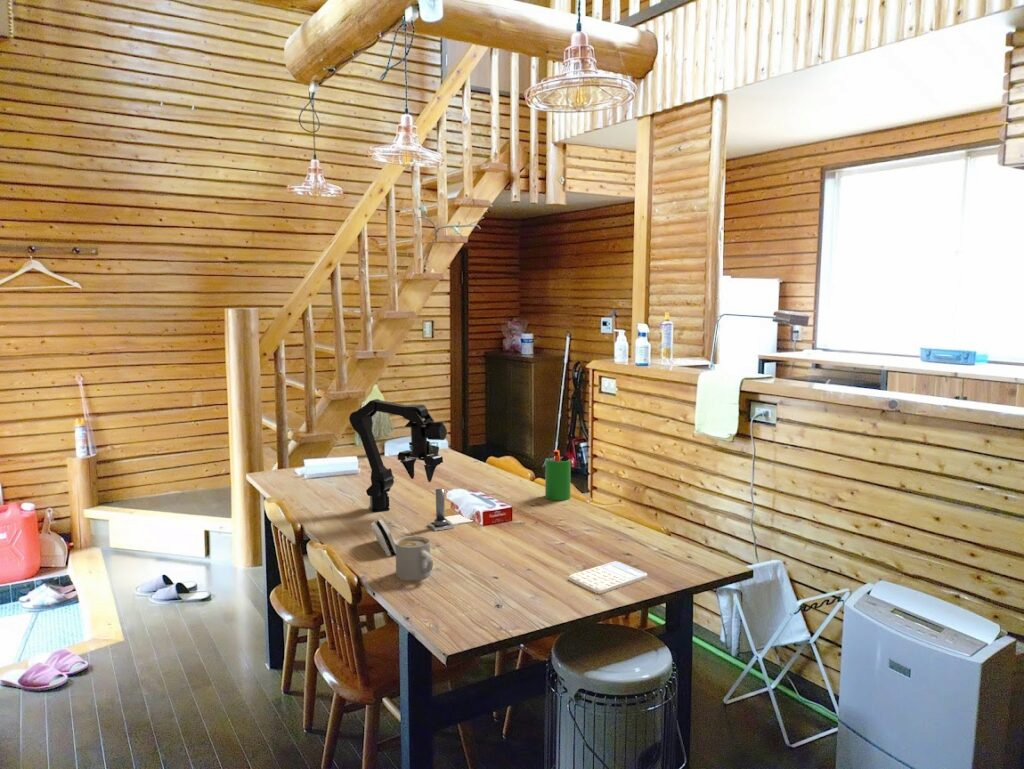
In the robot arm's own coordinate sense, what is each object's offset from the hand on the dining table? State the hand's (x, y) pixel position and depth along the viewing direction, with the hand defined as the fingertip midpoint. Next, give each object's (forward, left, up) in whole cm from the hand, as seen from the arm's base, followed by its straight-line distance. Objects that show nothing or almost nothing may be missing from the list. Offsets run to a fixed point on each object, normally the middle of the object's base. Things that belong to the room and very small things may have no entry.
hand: (421, 480), depth 263 cm
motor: (+57, -4, -13) cm, 58 cm away
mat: (+10, -13, -13) cm, 21 cm away
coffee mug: (-21, -55, -13) cm, 61 cm away
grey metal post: (+1, -17, -13) cm, 21 cm away
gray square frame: (+1, -17, -13) cm, 21 cm away
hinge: (-22, -28, -14) cm, 38 cm away
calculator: (+28, -82, -14) cm, 88 cm away
